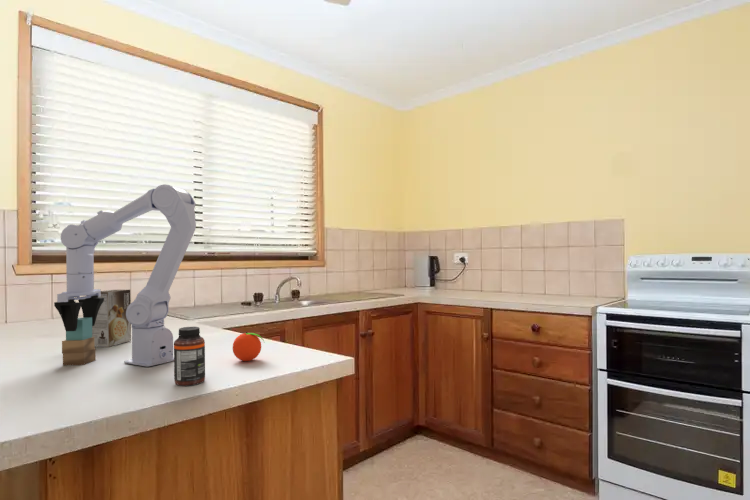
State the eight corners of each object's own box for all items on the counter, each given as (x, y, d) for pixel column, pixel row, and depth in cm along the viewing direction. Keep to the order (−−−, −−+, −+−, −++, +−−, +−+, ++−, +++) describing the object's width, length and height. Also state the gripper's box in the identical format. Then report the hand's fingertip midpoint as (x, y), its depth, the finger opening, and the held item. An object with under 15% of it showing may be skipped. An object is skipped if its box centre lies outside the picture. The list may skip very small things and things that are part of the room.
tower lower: (83, 365, 110) (83, 352, 110) (62, 365, 110) (62, 353, 110) (95, 360, 115) (95, 348, 115) (75, 360, 115) (75, 349, 115)
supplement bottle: (179, 379, 96) (179, 325, 96) (208, 378, 97) (208, 325, 97) (169, 387, 90) (169, 330, 91) (200, 386, 91) (199, 329, 91)
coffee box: (114, 340, 142) (113, 289, 142) (131, 341, 141) (131, 289, 141) (90, 346, 133) (89, 291, 133) (108, 347, 132) (108, 291, 132)
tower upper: (83, 352, 110) (83, 340, 110) (62, 353, 110) (61, 341, 110) (94, 348, 115) (94, 336, 115) (73, 349, 115) (73, 337, 115)
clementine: (269, 357, 116) (269, 329, 116) (259, 364, 109) (259, 334, 109) (239, 357, 116) (239, 329, 117) (227, 364, 110) (227, 334, 110)
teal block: (82, 340, 111) (82, 319, 111) (65, 340, 111) (65, 319, 111) (92, 337, 115) (92, 317, 115) (76, 337, 115) (76, 317, 115)
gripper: (81, 272, 120) (81, 324, 120) (43, 275, 106) (43, 333, 106) (108, 272, 120) (108, 323, 120) (74, 275, 106) (74, 333, 106)
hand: (80, 328), depth 113 cm, fingers open, 7 cm apart
